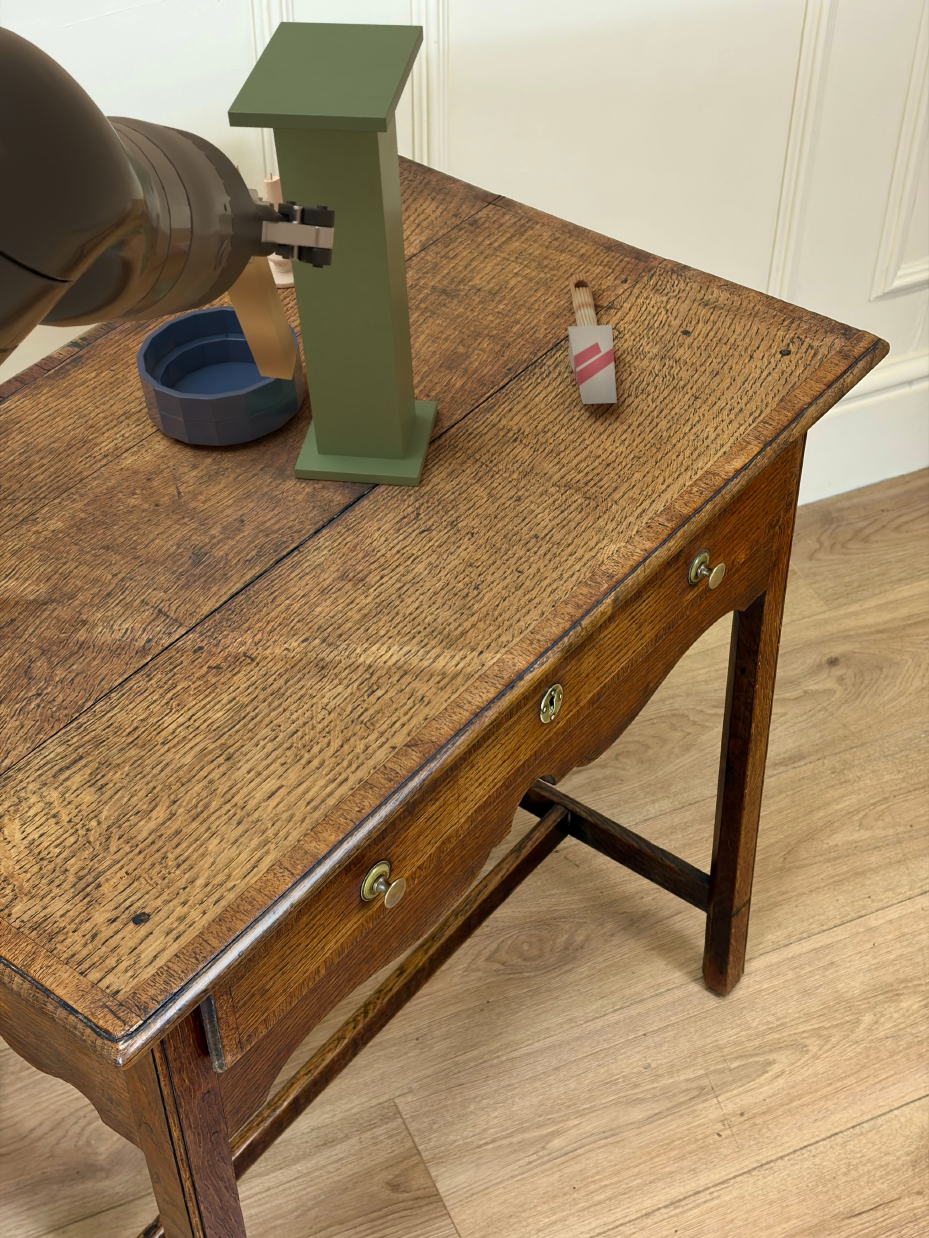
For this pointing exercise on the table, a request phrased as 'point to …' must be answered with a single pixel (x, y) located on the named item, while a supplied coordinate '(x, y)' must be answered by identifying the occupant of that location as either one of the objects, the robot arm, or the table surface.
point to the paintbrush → (590, 347)
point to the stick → (264, 319)
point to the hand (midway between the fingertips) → (241, 221)
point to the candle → (277, 264)
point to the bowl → (213, 381)
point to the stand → (347, 240)
